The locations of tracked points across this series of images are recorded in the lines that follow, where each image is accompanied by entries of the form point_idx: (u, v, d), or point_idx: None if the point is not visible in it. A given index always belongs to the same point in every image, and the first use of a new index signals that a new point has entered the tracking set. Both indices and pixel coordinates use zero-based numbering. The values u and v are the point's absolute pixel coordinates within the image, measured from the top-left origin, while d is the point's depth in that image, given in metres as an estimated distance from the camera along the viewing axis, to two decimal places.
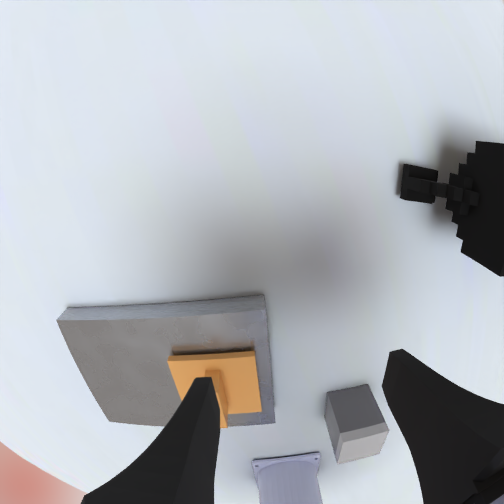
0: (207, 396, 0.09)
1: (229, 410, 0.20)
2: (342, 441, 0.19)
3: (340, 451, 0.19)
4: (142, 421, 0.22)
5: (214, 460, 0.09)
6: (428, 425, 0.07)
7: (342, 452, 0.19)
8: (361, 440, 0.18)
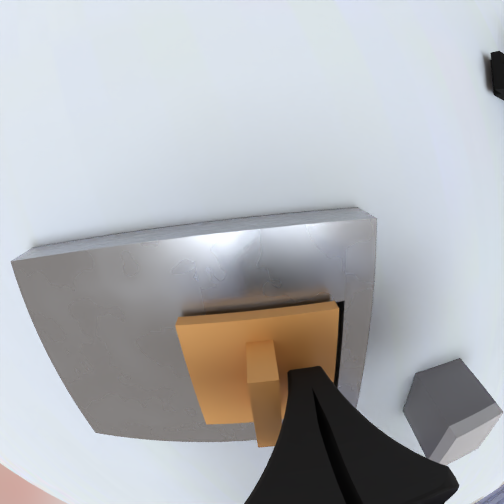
0: None
1: None
2: (454, 437, 0.10)
3: (445, 452, 0.11)
4: (145, 435, 0.14)
5: None
6: (328, 454, 0.07)
7: (447, 453, 0.11)
8: (474, 431, 0.10)
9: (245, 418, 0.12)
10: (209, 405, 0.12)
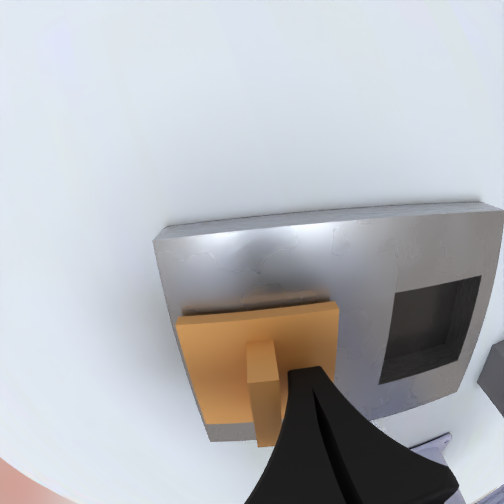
0: None
1: None
2: None
3: None
4: None
5: None
6: (328, 454, 0.07)
7: None
8: None
9: (245, 418, 0.12)
10: (209, 405, 0.12)
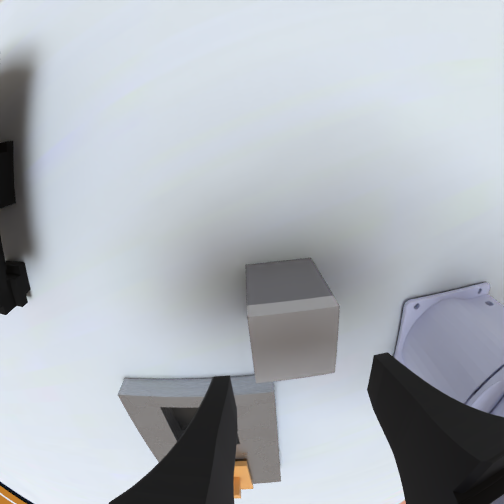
0: (227, 395, 0.09)
1: (244, 476, 0.22)
2: None
3: (289, 377, 0.14)
4: (274, 467, 0.23)
5: (233, 460, 0.09)
6: (410, 431, 0.07)
7: (291, 376, 0.14)
8: (261, 358, 0.13)
9: (247, 482, 0.23)
10: None
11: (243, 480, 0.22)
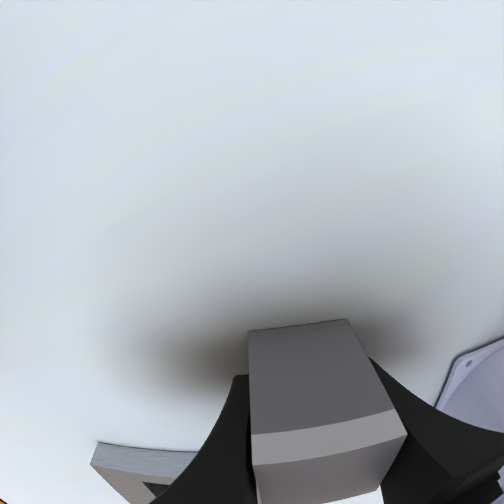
0: None
1: None
2: None
3: None
4: None
5: None
6: None
7: (315, 503, 0.07)
8: (273, 495, 0.06)
9: None
10: None
11: None
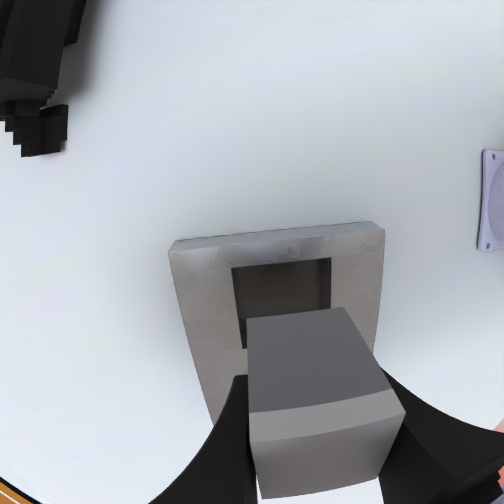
0: None
1: None
2: None
3: None
4: None
5: None
6: None
7: (314, 491, 0.07)
8: (272, 480, 0.07)
9: None
10: None
11: None
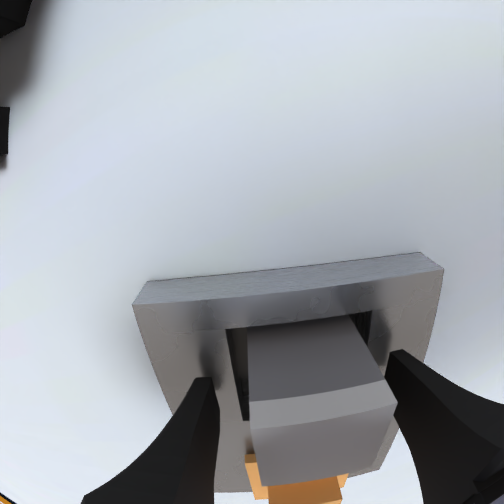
0: (207, 396, 0.09)
1: None
2: None
3: None
4: (384, 445, 0.14)
5: (214, 460, 0.09)
6: (428, 425, 0.07)
7: (312, 478, 0.08)
8: (271, 467, 0.07)
9: (342, 477, 0.14)
10: None
11: None
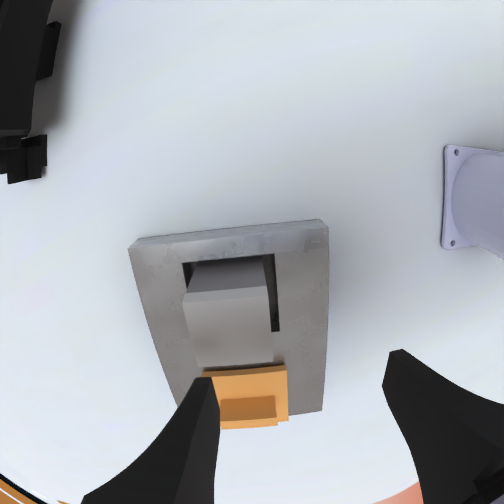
0: (207, 396, 0.09)
1: (281, 394, 0.20)
2: None
3: (229, 363, 0.15)
4: (318, 381, 0.21)
5: (214, 460, 0.09)
6: (428, 425, 0.07)
7: (230, 362, 0.15)
8: (199, 342, 0.14)
9: (283, 407, 0.20)
10: None
11: (278, 402, 0.20)
